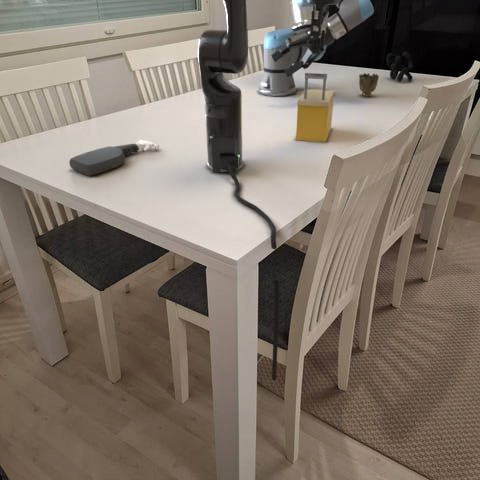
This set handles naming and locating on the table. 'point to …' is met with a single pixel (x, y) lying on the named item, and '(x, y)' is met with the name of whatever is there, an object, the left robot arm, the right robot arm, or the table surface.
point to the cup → (367, 83)
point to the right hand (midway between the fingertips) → (279, 66)
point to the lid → (315, 92)
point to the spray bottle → (106, 157)
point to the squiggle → (399, 66)
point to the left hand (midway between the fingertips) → (317, 50)
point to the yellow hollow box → (314, 122)
